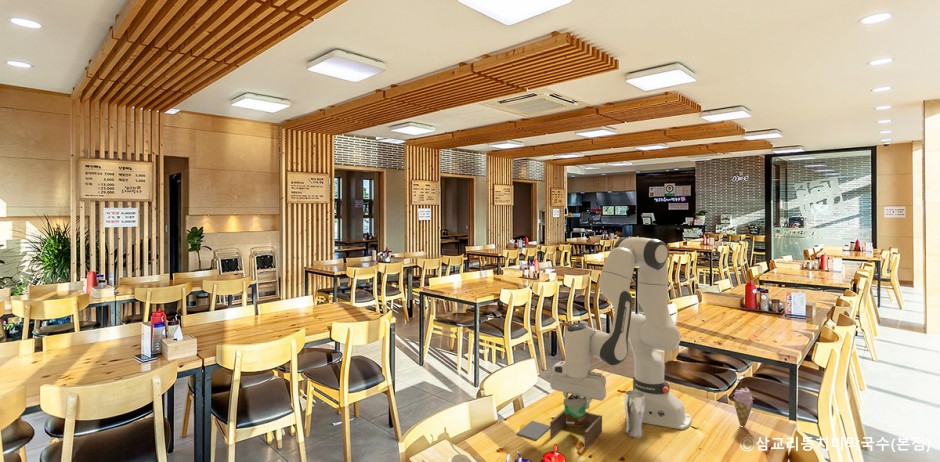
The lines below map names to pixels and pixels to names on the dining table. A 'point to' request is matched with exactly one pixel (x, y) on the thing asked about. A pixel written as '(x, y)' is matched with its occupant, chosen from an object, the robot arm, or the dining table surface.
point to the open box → (591, 423)
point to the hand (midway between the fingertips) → (577, 406)
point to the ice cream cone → (743, 404)
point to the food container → (575, 410)
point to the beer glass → (634, 413)
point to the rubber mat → (533, 430)
